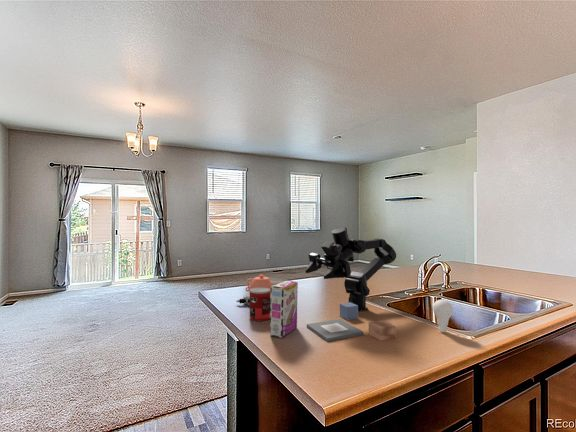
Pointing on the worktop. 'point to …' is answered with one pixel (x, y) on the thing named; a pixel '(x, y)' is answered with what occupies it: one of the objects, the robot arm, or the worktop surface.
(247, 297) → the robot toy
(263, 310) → the canned food
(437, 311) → the lightbulb
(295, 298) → the candy bar box
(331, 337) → the board
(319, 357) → the worktop surface
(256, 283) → the sugar bowl
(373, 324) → the terracotta block
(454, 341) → the worktop surface
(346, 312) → the blue cube
